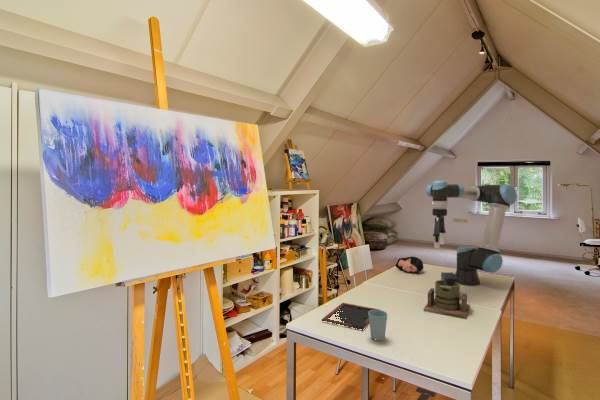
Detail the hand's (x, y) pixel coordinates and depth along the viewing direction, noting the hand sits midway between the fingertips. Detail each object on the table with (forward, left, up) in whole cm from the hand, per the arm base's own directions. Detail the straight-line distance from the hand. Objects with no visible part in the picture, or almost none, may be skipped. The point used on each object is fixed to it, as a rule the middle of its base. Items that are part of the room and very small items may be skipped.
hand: (439, 246), depth 184 cm
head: (-45, -28, -29) cm, 61 cm away
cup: (+67, -12, -29) cm, 74 cm away
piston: (+18, +7, -28) cm, 34 cm away
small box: (-4, +5, -29) cm, 30 cm away
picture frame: (+52, -30, -29) cm, 67 cm away
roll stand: (+18, +7, -29) cm, 35 cm away
